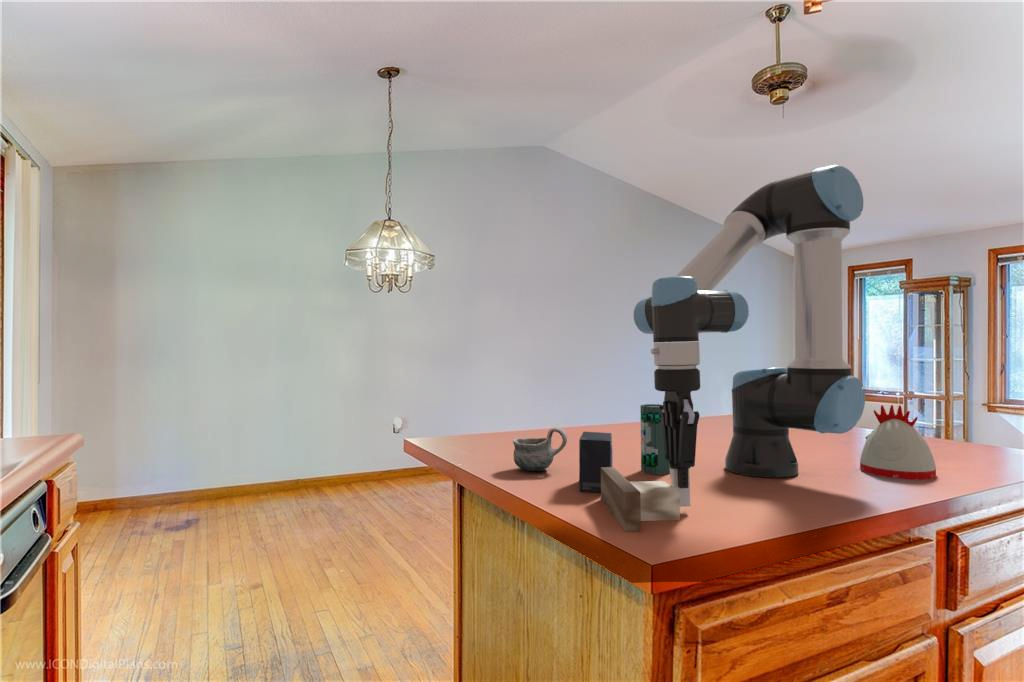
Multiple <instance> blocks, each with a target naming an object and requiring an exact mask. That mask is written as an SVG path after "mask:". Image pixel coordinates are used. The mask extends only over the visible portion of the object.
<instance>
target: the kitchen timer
mask: <svg viewBox="0 0 1024 682" xmlns="http://www.w3.org/2000/svg"><path fill="white" fill-rule="evenodd" d="M894 408H895V407H894V405H893V404H891V405H890V408H889V411H888V413H887V412H886V409H885V407H884V405H883V404H882V405H881V406H880V413H878V412H877V411H876V410H875V409H873V413H874V416H875V418H876V419H877V420H878V423H879V424H878V425H877V426H876V427H874V429H872V431H871V432H870V433H869V434H868V435H866V436H865V442H864V445H863V448H862V451H861V453H860V457H859V469H860V471H862V472H864V473H866V474H869V475H873V476H878V477H885V478H891V479H901V480H931V479H935V478H936V477H937V468H936V462H935V459H934V456H933V453H932V450H931V448H930V446H929V443H928V442H927V440H926V439H925V437H924V436H923V434H922V433H921V432H920V431H919V430H918V429H917V428H916V427H915V426H914V425H915V424H916V423H917V420H918V419H919V418H918V416H916V417H914V419H913V420H912V421H909V416H910V413H911V411H910V410H908V411H906V412H905V414H903V410H902V409H903V408H902V405H898V407H897V411H896V413H895V410H894Z"/></svg>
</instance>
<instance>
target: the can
mask: <svg viewBox="0 0 1024 682" xmlns="http://www.w3.org/2000/svg"><path fill="white" fill-rule="evenodd" d="M660 405H662V404H659V403H658V404H657V403H656V404H655V403H653V404H651V403H649V404H648V403H647V404H640V407H639V408H640V469H641V472H642V473H643V472H644V473H643V474H647V475H652V474H655V475H656V476H657V475H658V476H659V475H660V474H665V475H669V474H671V468H670V464H669V460H666V457H665V447H664V438H663V428H662V419H661V414H660V410H659V406H660ZM668 473H669V474H668ZM660 476H661V475H660Z"/></svg>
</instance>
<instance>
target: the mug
mask: <svg viewBox="0 0 1024 682" xmlns="http://www.w3.org/2000/svg"><path fill="white" fill-rule="evenodd" d="M553 433H557V434H559V435H560V436H561V439H562V441H561V442H562V443H561V445H560V446H558V448H553V447H552V437H553ZM512 442H513V445H514V449H513V462H514V464H515V465H516V466H517V467H518V468H519V469H521V470H524V471H530V472H538V471H539V472H540V471H544V470H546V469H547V468H549V467H550V465H551V464H552V463H553V461H554V457H555V456H556V455H558V454H559V453H560V452H561V451H563V449H564V448H565V446H566V445H567V442H568V436H567V433H566V431H565V430H564V429H562V428H561V427H551V428H550V429H549V430H548V432H547V435H546V437H537V438H536V437H531V438H529V437H522V438H520V437H519V438H514V439H512Z"/></svg>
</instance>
